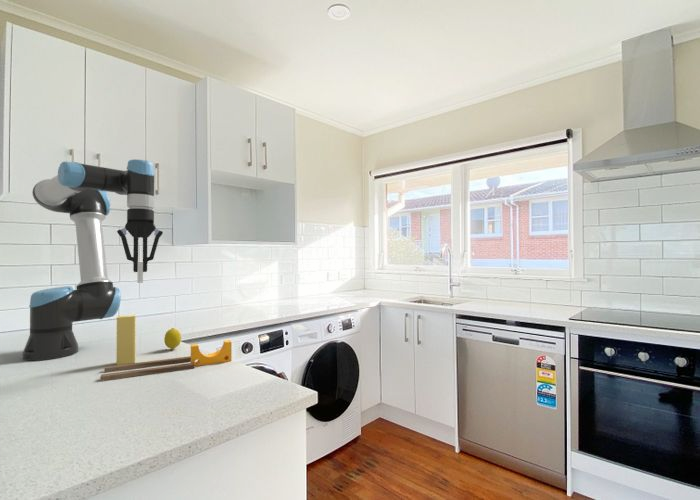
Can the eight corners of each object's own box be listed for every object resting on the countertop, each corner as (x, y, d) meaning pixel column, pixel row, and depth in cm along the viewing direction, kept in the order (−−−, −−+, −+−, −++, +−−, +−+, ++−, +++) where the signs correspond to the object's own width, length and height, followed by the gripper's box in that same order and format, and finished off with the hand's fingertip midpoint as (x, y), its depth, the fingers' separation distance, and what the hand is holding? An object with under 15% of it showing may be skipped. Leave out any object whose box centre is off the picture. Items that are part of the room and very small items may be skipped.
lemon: (172, 352, 132) (172, 329, 132) (160, 350, 134) (160, 328, 134) (184, 348, 137) (184, 326, 137) (172, 347, 139) (172, 326, 139)
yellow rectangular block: (117, 362, 120) (117, 316, 120) (135, 360, 122) (135, 314, 122) (116, 365, 116) (116, 317, 117) (134, 362, 119) (134, 316, 119)
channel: (105, 370, 111) (105, 366, 111) (191, 359, 122) (191, 356, 122) (100, 380, 101) (100, 376, 101) (194, 368, 113) (194, 364, 113)
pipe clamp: (228, 358, 124) (228, 339, 124) (231, 361, 120) (231, 341, 120) (189, 363, 118) (189, 343, 118) (191, 367, 114) (191, 346, 114)
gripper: (163, 211, 124) (162, 281, 124) (117, 209, 118) (117, 282, 118) (163, 208, 118) (163, 282, 118) (115, 206, 112) (115, 284, 111)
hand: (140, 282), depth 118 cm, fingers closed
